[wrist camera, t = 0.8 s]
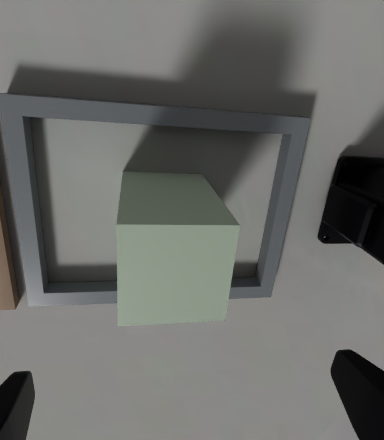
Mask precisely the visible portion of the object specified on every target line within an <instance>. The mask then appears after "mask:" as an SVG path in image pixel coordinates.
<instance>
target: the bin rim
mask: <svg viewBox="0 0 384 440" xmlns="http://www.w3.org/2000/svg"><path fill="white" fill-rule="evenodd" d="M0 113H1V120H2V126H3V133H4V140H5V147H6V154H7V160H8V167H9V174H10V181H11V188H12V195H13V201H14V208H15V215H16V222H17V229H18V236H19V242H20V249H21V256H22V263H23V270H24V276H25V283H26V290H27V297H28V304H29V307H32V306H58V305H83V304H109V303H117V281H98V282H60V283H48V276H47V267H46V258H45V249H44V240H43V231H42V223H41V214H40V205H39V196H38V187H37V178H36V169H35V160H34V152H33V143H32V134H31V125H30V117H41V118H56V119H71V120H86V121H100V122H115V123H130V124H145V125H159V126H174V127H189V128H204V129H218V130H233V131H248V132H263V133H277V134H283V136H282V141H281V146H280V151H279V156H278V161H277V167H276V172H275V177H274V182H273V187H272V193H271V198H270V203H269V208H268V213H267V218H266V224H265V229H264V234H263V239H262V244H261V249H260V255H259V260H258V265H257V270H256V275H255V277H252V278H232V280H231V287H230V293H229V299H237V298H262V297H271V295H272V290H273V286H274V281H275V277H276V272H277V268H278V263H279V259H280V254H281V250H282V245H283V241H284V236H285V232H286V227H287V223H288V218H289V214H290V209H291V205H292V201H293V196H294V192H295V187H296V183H297V178H298V174H299V169H300V165H301V160H302V156H303V151H304V147H305V142H306V138H307V133H308V129H309V124H310V120H311V118H307V117H302V116H290V115H277V114H265V113H252V112H240V111H227V110H215V109H202V108H190V107H178V106H165V105H153V104H140V103H128V102H115V101H103V100H90V99H78V98H65V97H53V96H40V95H28V94H15V93H0Z"/></svg>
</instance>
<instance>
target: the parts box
mask: <svg viewBox="0 0 384 440" xmlns="http://www.w3.org/2000/svg"><path fill="white" fill-rule="evenodd" d="M239 230H240V224H239V223H238V222H237V220H236V219H235V218H234V216H233V215H232V214H231V212H230V211H229V210H228V208H227V207H226V206H225V204H224V203H223V202H222V200H221V199H220V198H219V196H218V195H217V194H216V192H215V191H214V190H213V188H212V187H211V186H210V184H209V183H208V181H207V180H206V179H205V177H204V176H203V175H202V174H183V173H157V172H132V171H123V175H122V183H121V192H120V200H119V209H118V217H117V311H118V326H132V325H152V324H171V323H190V322H209V321H225V318H226V312H227V305H228V299H229V293H230V287H231V280H232V274H233V268H234V262H235V255H236V249H237V243H238V236H239Z"/></svg>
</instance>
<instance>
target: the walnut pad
mask: <svg viewBox="0 0 384 440" xmlns="http://www.w3.org/2000/svg"><path fill="white" fill-rule="evenodd" d="M18 304H19V296H18V290H17V284H16V278H15V271H14V265H13V259H12V253H11V246H10V240H9V234H8V228H7V221H6V215H5V209H4V203H3V196H2V190H1V184H0V310H14V309H16V307H17V305H18Z"/></svg>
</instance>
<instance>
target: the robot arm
mask: <svg viewBox="0 0 384 440" xmlns="http://www.w3.org/2000/svg"><path fill="white" fill-rule="evenodd" d="M346 161H347V164H346V165H345V166H344V163H345V162H346ZM325 235H327V236H326V237H325V238H324V236H325ZM318 239H319V240H320V241H321V242H322V243H325V244H341V243H353V244H354V245H356V246H357V247H360V248H361V249H363V250H364V251H365V252H367V253H368V254H370V255H371V256H372V257H374V258H375V259H376V260H378V261H379V262H381V263H382V264H383V265H384V158H381V157H363V156H342V157H341V158H340V159H339V160H338V162H337V166H336V169H335V173H334V177H333V180H332V184H331V187H330V190H329V193H328V197H327V201H326V205H325V208H324V212H323V216H322V221H321V225H320V229H319V233H318ZM331 376H332V379H333V381H334V384H335V386H336V389H337V391H338V393H339V396H340V398H341V400H342V403H343V405H344V408H345V410H346V412H347V415H348V417H349V419H350V422H351V424H352V426H353V428H354V430H355V432H356V434H357V436H358V438H359V440H384V371H383V370H382V369H380V368H378V367H377V366H375V365H374V364H372V363H371V362H369V361H368V360H366V359H365V358H363V357H362V356H360V355H359V354H357V353H356V352H354V351H352V350H349V349H347V350H338V351H337V352H336V355H335V357H334V360H333V363H332V366H331ZM34 399H35V391H34V384H33V378H32V373H31V372H30V371H19V372H14V373H12V374H11V375H10V376H9V377H8V378H7V379H6V380H5V381H4V382H3V383H2V384H1V385H0V440H26V436H27V431H28V427H29V422H30V418H31V413H32V409H33V404H34Z"/></svg>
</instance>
